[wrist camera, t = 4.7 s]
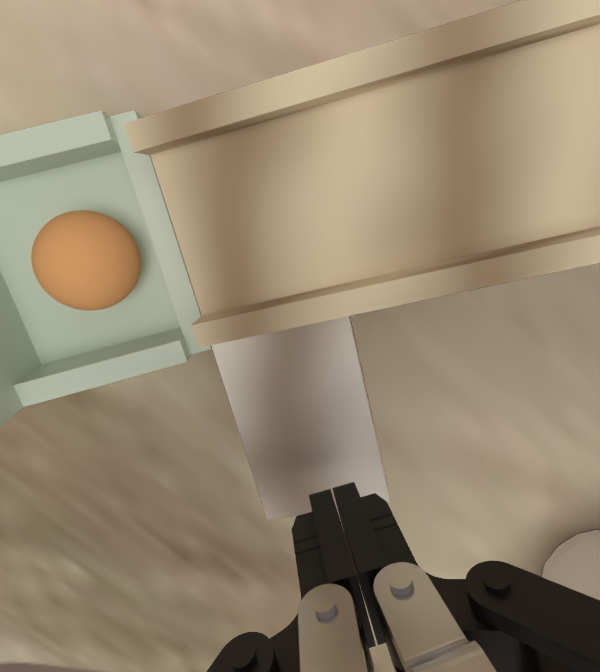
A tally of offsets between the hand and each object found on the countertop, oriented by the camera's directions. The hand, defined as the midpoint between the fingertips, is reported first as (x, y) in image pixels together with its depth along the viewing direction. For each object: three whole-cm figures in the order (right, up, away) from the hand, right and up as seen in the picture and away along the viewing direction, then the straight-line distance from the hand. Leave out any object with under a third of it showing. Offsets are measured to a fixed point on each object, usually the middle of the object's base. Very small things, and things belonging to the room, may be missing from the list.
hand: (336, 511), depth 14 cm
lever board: (+6, +8, +3) cm, 10 cm away
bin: (-11, +9, +7) cm, 16 cm away
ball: (-10, +9, +4) cm, 14 cm away
